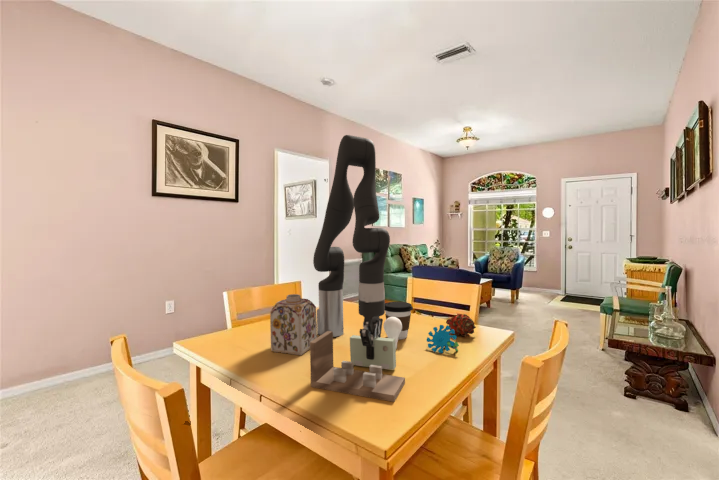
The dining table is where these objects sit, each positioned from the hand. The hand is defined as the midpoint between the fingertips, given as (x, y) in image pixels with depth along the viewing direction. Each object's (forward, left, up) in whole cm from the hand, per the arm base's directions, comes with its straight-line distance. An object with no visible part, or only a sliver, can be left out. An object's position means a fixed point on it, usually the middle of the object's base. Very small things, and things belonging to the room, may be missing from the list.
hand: (372, 357), depth 98 cm
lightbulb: (+2, +15, -3) cm, 16 cm away
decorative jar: (-30, +6, -3) cm, 31 cm away
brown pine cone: (+21, +39, -3) cm, 45 cm away
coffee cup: (0, +29, -3) cm, 30 cm away
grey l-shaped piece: (0, -12, -3) cm, 12 cm away
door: (0, 0, -2) cm, 2 cm away
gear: (+17, +21, -3) cm, 27 cm away
